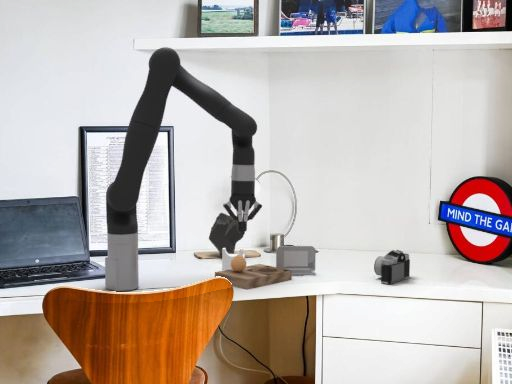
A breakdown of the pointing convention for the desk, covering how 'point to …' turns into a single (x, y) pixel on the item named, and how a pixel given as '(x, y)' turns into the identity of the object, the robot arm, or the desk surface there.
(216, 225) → the dark grey rock
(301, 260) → the toaster
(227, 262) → the bracket
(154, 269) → the desk surface
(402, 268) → the camera
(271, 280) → the brown wooden flat block
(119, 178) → the robot arm
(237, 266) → the ball
